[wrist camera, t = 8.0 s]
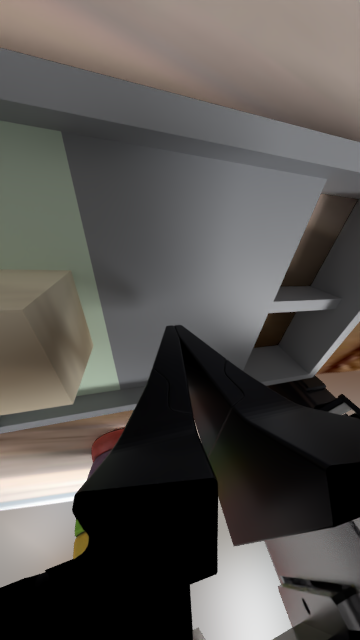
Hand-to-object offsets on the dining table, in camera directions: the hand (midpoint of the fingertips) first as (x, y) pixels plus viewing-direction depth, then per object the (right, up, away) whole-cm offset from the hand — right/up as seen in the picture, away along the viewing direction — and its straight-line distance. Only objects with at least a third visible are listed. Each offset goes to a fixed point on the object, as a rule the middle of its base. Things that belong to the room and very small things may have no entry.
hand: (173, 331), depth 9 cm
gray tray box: (0, +3, +4) cm, 5 cm away
